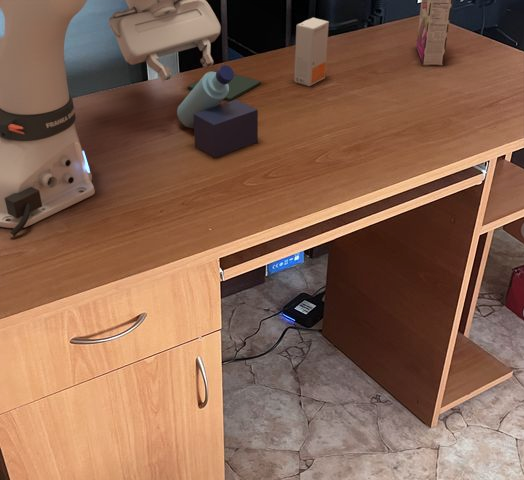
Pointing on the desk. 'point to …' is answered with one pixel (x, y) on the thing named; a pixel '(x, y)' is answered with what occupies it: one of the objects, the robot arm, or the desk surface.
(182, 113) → the plastic bottle
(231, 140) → the navy block
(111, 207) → the desk surface
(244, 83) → the rubber mat
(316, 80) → the cosmetic box
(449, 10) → the candy bar box
